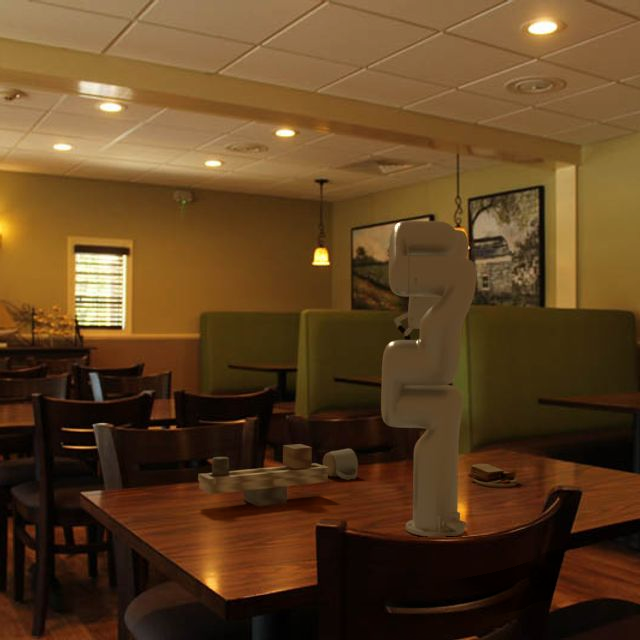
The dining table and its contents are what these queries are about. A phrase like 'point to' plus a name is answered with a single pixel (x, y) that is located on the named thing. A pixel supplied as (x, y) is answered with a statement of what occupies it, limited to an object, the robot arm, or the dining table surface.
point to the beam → (259, 481)
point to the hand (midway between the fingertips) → (427, 351)
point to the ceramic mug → (341, 464)
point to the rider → (297, 456)
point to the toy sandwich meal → (492, 476)
